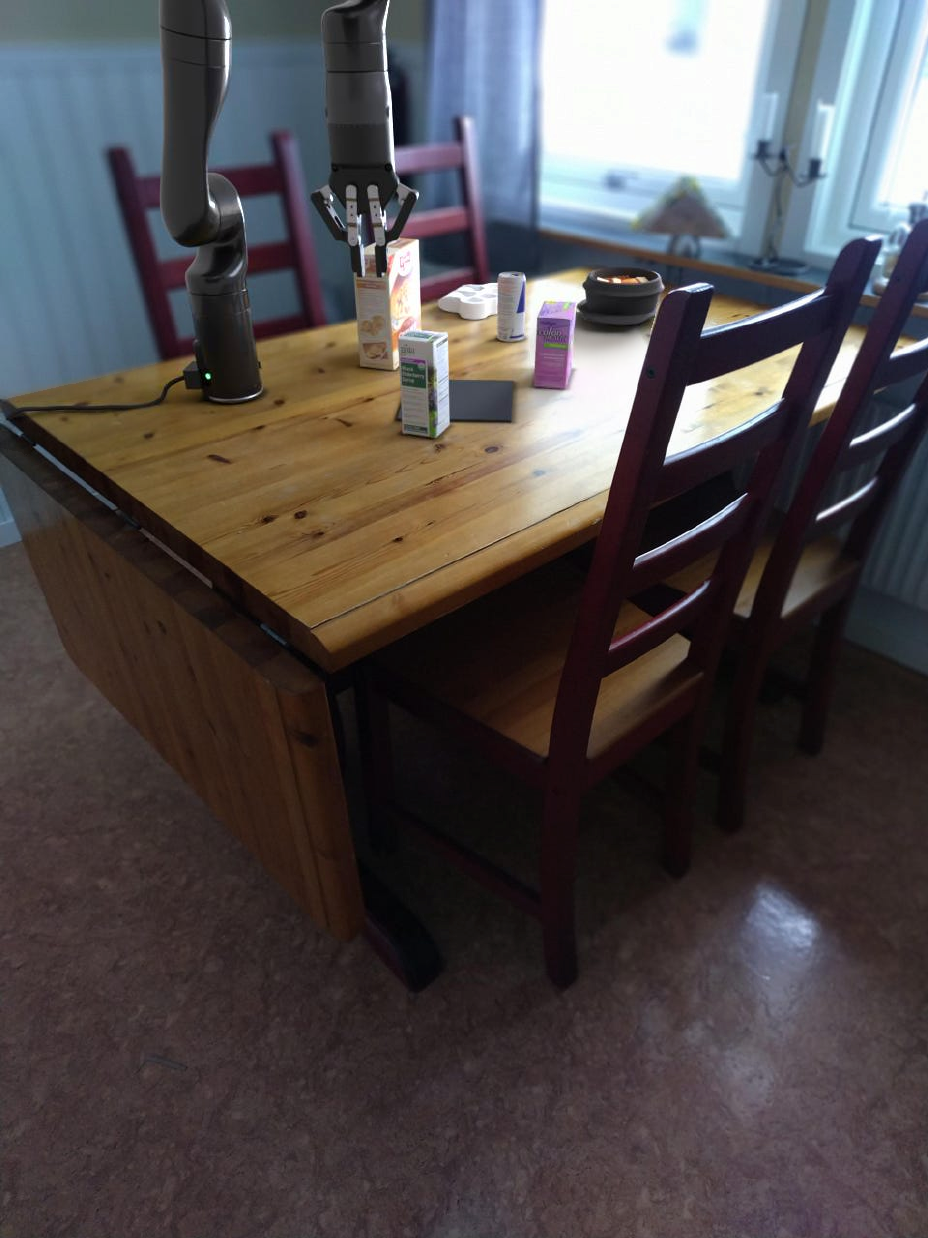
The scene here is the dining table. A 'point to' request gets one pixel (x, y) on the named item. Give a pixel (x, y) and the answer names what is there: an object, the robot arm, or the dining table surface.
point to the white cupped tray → (472, 301)
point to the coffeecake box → (387, 303)
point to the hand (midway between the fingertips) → (370, 275)
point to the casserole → (621, 295)
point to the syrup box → (424, 382)
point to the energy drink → (511, 306)
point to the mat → (479, 401)
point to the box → (554, 344)
